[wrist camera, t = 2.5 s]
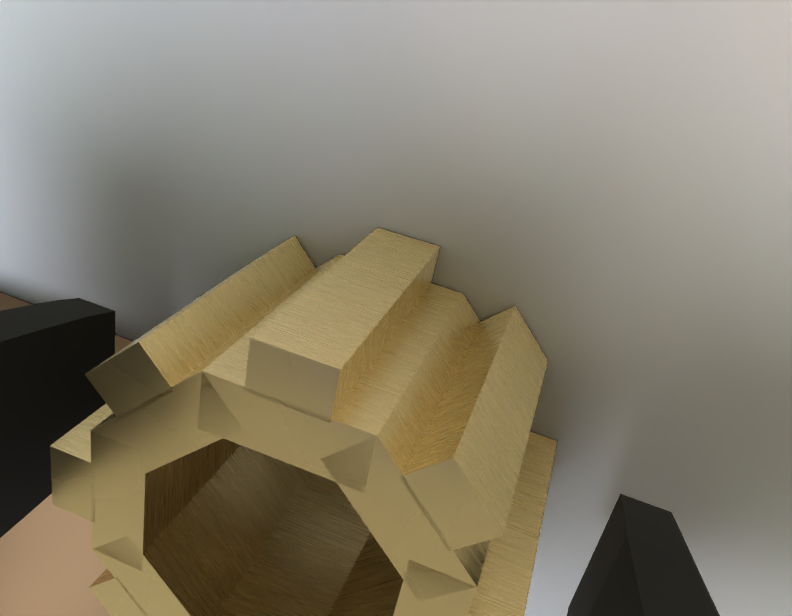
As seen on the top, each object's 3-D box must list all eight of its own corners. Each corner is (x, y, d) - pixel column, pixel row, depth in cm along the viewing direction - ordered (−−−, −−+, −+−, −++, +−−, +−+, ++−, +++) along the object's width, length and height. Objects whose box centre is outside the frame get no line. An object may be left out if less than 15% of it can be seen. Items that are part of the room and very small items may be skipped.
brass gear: (610, 300, 9) (594, 460, 6) (499, 594, 11) (446, 814, 8) (227, 181, 10) (40, 264, 7) (202, 474, 12) (58, 630, 9)
